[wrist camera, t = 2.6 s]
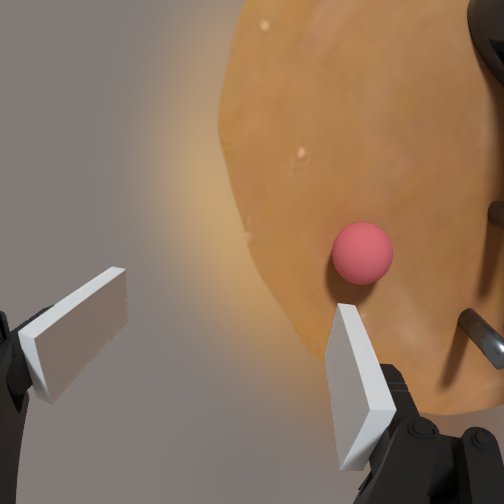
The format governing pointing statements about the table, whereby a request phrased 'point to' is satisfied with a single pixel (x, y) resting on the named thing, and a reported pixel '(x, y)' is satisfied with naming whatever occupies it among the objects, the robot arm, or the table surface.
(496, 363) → the post
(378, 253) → the ball
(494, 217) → the post
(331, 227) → the table surface
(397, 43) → the table surface
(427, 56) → the table surface
